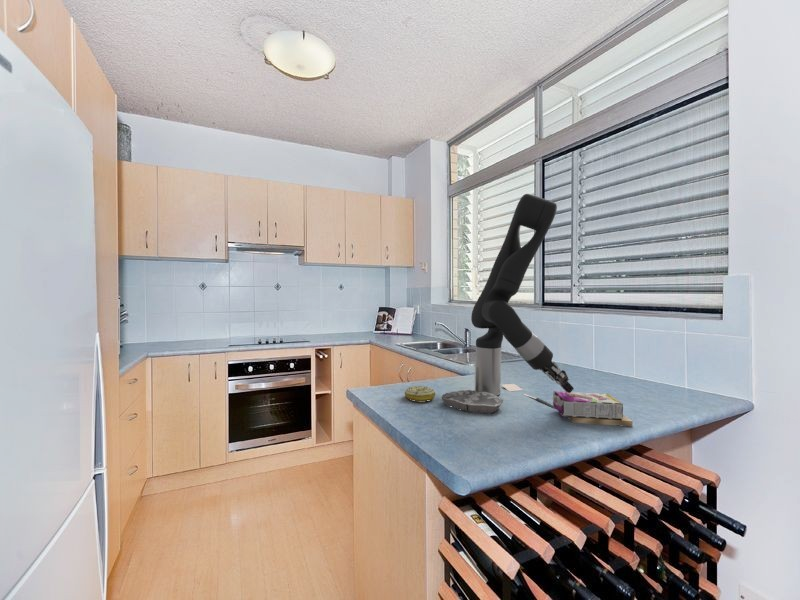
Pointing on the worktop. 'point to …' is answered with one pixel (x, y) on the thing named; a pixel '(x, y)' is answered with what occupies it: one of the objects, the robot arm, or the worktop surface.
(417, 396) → the decorated donut
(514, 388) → the spatula
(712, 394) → the worktop surface
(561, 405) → the candy bar box
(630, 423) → the bamboo board
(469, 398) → the flat grey stone
